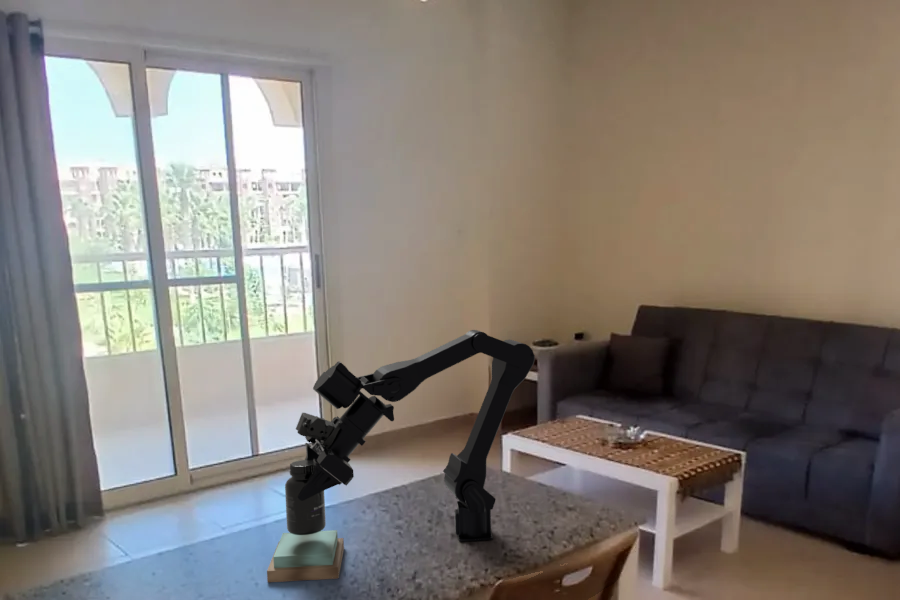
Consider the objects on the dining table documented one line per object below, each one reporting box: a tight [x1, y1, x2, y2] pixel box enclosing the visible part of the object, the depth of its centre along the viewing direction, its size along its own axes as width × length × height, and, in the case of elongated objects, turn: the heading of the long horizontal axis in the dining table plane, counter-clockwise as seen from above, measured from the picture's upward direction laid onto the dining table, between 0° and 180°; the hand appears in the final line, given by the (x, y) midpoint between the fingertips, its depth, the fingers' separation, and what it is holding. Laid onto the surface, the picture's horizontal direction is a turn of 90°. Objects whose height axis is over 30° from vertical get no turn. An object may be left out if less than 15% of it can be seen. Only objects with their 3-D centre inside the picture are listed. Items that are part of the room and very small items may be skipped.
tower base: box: [266, 529, 345, 583], centre depth 128 cm, size 12×12×4 cm
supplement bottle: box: [284, 459, 327, 535], centre depth 128 cm, size 7×7×12 cm
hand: (297, 492), depth 127 cm, fingers closed on supplement bottle, 7 cm apart
